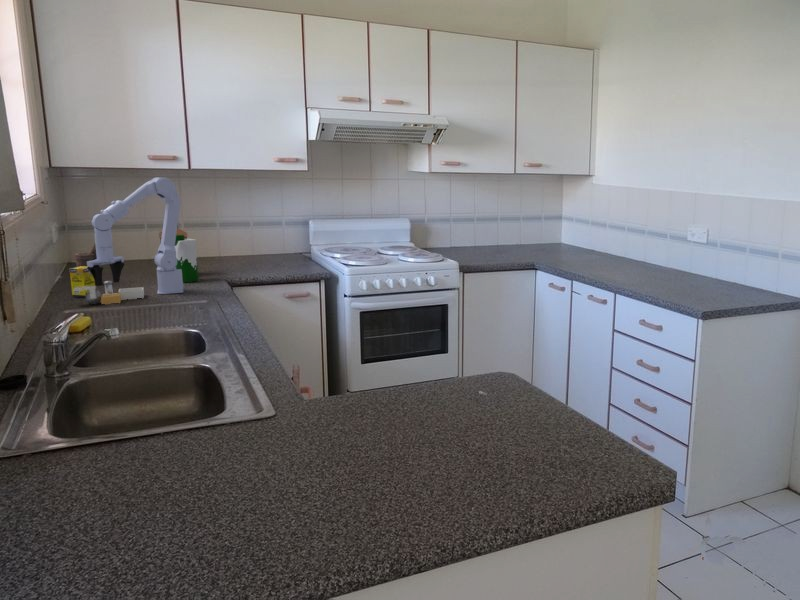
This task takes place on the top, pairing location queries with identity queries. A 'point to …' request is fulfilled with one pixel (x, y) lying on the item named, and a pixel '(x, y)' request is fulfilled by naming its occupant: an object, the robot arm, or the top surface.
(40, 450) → the top surface
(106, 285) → the pin
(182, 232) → the whiskey bottle
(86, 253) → the mortar and pestle
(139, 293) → the tray
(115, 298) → the block
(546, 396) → the top surface
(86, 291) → the supplement box
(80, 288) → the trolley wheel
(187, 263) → the milk carton
